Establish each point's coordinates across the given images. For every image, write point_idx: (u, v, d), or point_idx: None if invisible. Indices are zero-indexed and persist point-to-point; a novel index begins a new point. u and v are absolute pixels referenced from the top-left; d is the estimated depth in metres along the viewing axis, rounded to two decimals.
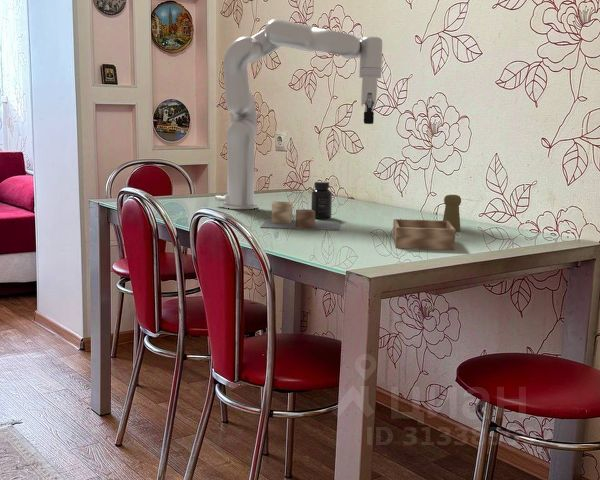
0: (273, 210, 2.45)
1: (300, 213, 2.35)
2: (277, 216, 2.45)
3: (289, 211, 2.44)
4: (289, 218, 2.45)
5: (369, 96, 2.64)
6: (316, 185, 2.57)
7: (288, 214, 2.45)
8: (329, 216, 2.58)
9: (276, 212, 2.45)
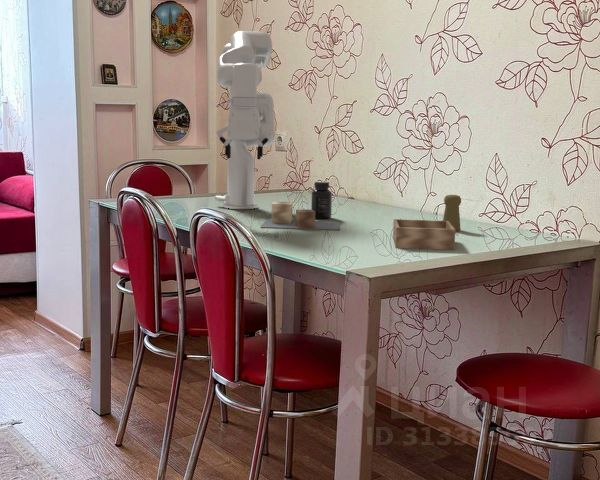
0: (273, 210, 2.45)
1: (300, 213, 2.35)
2: (277, 216, 2.45)
3: (289, 211, 2.44)
4: (289, 218, 2.45)
5: (265, 129, 2.43)
6: (316, 185, 2.57)
7: (288, 214, 2.45)
8: (329, 216, 2.58)
9: (276, 212, 2.45)
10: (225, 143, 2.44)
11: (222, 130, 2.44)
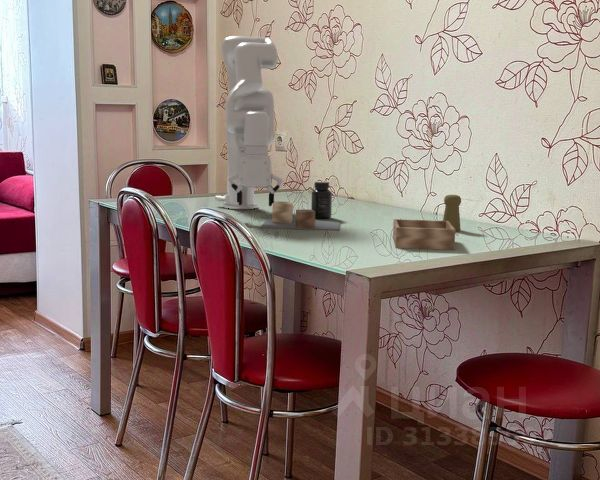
0: (274, 210, 2.45)
1: (300, 213, 2.35)
2: (277, 215, 2.45)
3: (290, 211, 2.44)
4: (289, 218, 2.45)
5: None
6: (316, 185, 2.57)
7: (288, 214, 2.45)
8: (329, 216, 2.58)
9: (276, 212, 2.45)
10: (236, 190, 2.46)
11: (234, 177, 2.46)
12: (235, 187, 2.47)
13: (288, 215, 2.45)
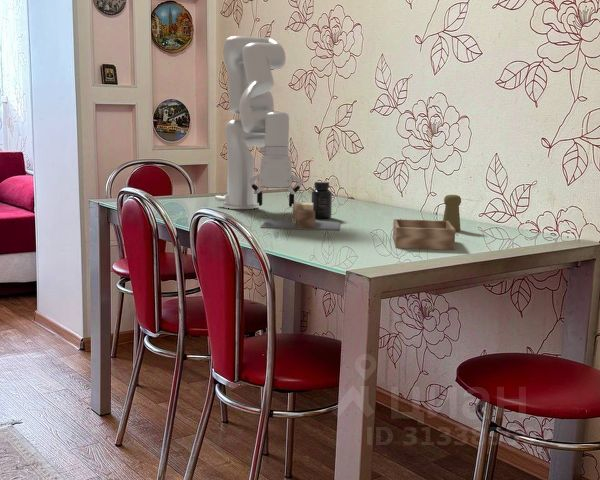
0: (305, 206, 2.44)
1: (300, 213, 2.35)
2: None
3: None
4: None
5: (297, 177, 2.45)
6: (316, 185, 2.57)
7: None
8: (329, 216, 2.58)
9: (302, 209, 2.44)
10: (257, 190, 2.46)
11: (254, 178, 2.46)
12: (255, 188, 2.46)
13: None
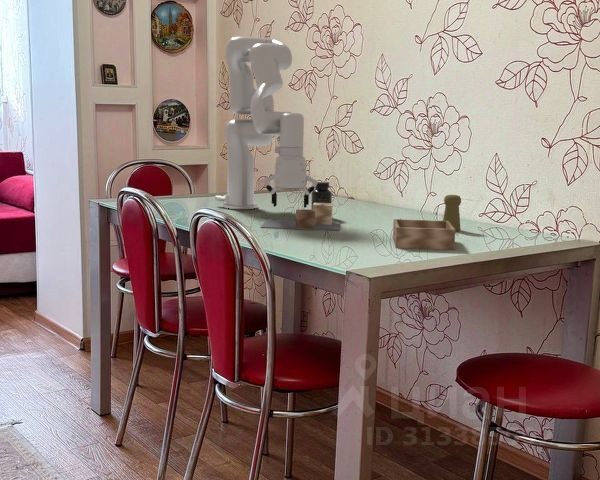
0: (329, 218, 2.44)
1: (300, 213, 2.35)
2: (325, 212, 2.43)
3: None
4: (313, 210, 2.44)
5: (312, 178, 2.45)
6: (316, 185, 2.57)
7: None
8: None
9: (326, 215, 2.44)
10: (271, 191, 2.46)
11: (269, 179, 2.46)
12: (270, 188, 2.46)
13: (315, 213, 2.44)
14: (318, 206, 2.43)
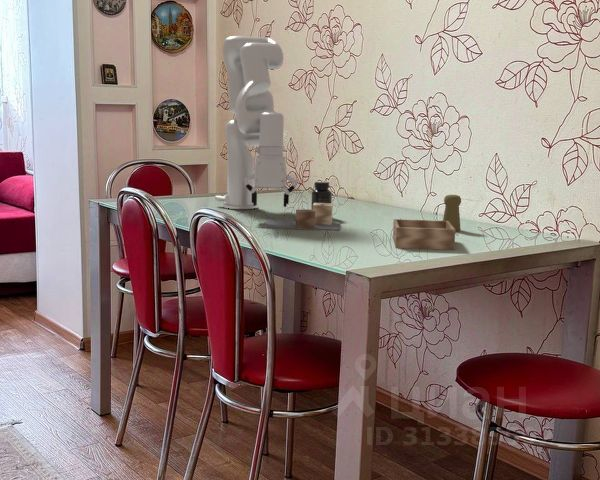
0: (329, 218, 2.44)
1: (300, 213, 2.35)
2: (325, 212, 2.43)
3: None
4: (313, 210, 2.44)
5: None
6: (316, 185, 2.57)
7: None
8: None
9: (326, 215, 2.44)
10: (251, 191, 2.46)
11: (249, 178, 2.46)
12: (250, 188, 2.46)
13: (315, 213, 2.44)
14: (318, 206, 2.43)
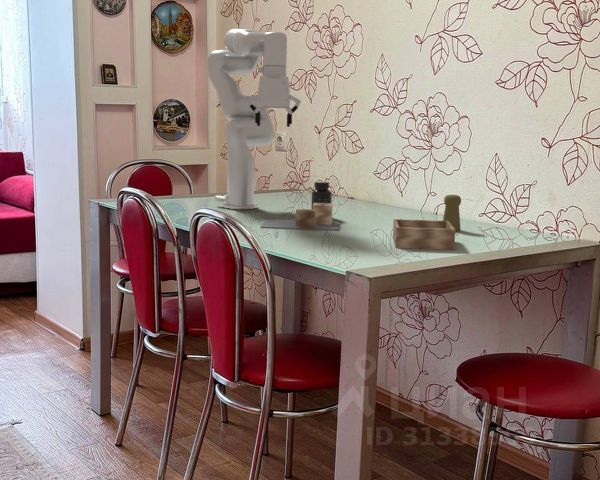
0: (329, 218, 2.44)
1: (300, 213, 2.35)
2: (325, 212, 2.43)
3: None
4: (313, 210, 2.44)
5: None
6: (316, 185, 2.57)
7: None
8: None
9: (326, 215, 2.44)
10: (255, 110, 2.49)
11: (252, 98, 2.49)
12: (253, 108, 2.50)
13: (315, 213, 2.44)
14: (318, 206, 2.43)
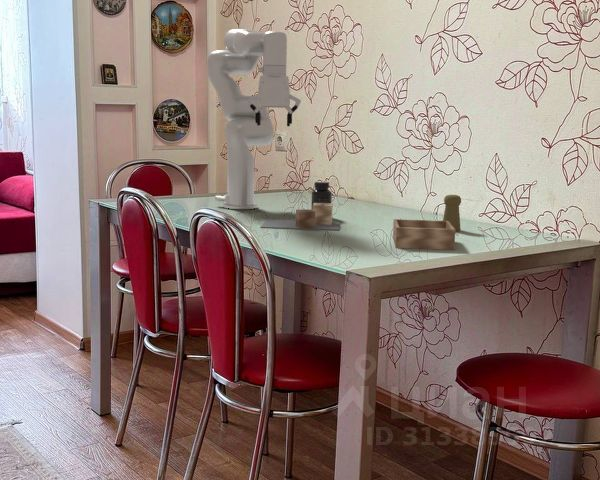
0: (329, 218, 2.44)
1: (300, 213, 2.35)
2: (325, 212, 2.43)
3: None
4: (313, 210, 2.44)
5: (295, 97, 2.49)
6: (316, 185, 2.57)
7: None
8: None
9: (326, 215, 2.44)
10: (255, 110, 2.49)
11: (252, 98, 2.49)
12: (254, 107, 2.50)
13: (315, 213, 2.44)
14: (318, 206, 2.43)
